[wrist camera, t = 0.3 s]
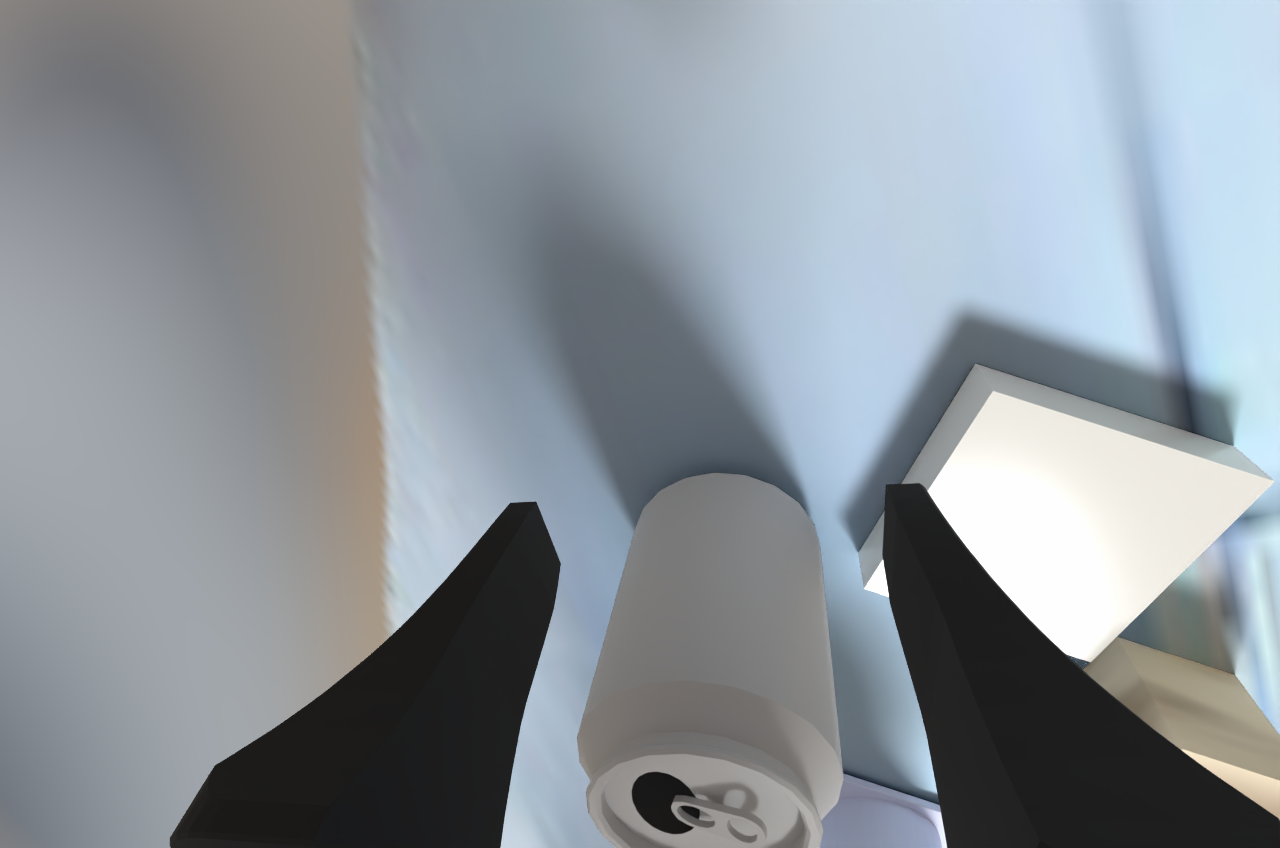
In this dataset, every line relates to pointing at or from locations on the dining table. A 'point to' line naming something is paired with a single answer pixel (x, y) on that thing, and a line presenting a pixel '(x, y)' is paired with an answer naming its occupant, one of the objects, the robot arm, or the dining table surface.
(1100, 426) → the coaster
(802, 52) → the dining table surface
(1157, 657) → the cube
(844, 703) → the dining table surface
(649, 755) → the can
